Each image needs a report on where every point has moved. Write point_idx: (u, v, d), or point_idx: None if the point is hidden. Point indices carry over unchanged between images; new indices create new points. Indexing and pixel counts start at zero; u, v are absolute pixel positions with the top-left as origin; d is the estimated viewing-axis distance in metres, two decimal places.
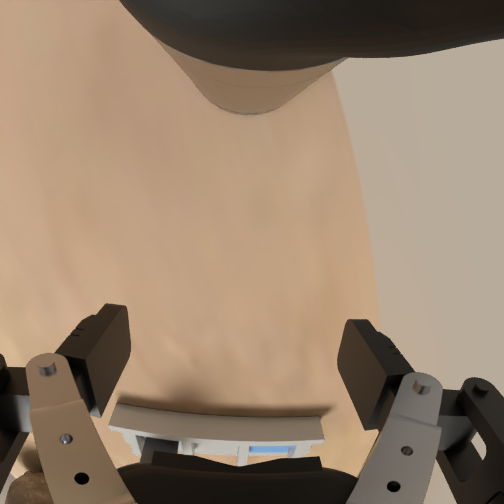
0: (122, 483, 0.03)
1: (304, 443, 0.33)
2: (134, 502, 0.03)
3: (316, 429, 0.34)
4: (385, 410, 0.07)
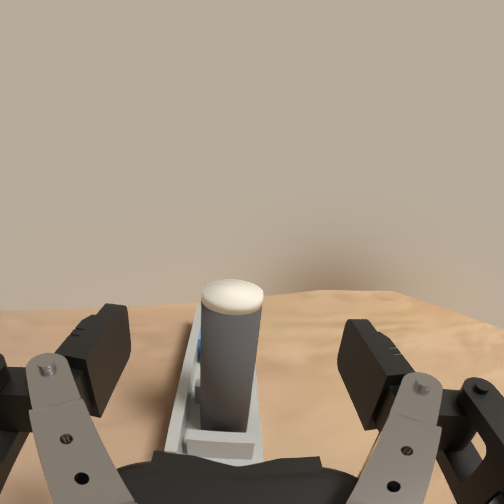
0: (122, 483, 0.03)
1: (200, 312, 0.42)
2: (134, 502, 0.03)
3: None
4: (385, 410, 0.07)
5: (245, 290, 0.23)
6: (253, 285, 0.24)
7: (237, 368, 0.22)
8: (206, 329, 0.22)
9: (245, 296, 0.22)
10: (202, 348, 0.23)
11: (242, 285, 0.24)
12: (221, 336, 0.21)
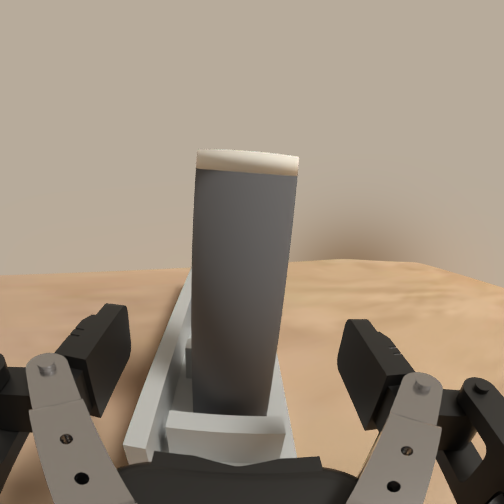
0: (122, 483, 0.03)
1: None
2: (134, 502, 0.03)
3: None
4: (385, 410, 0.07)
5: None
6: None
7: (257, 288, 0.13)
8: (203, 211, 0.13)
9: None
10: (195, 256, 0.14)
11: None
12: (228, 217, 0.12)
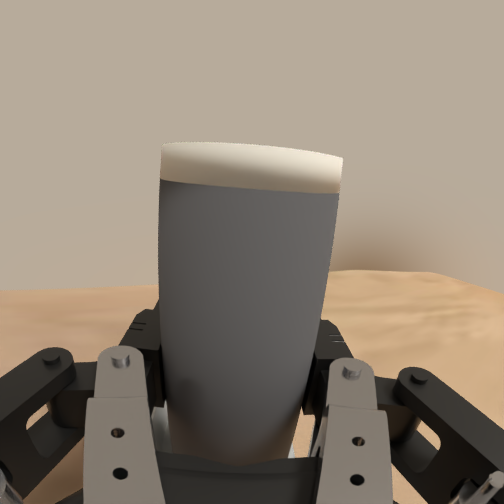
0: (160, 487, 0.04)
1: None
2: None
3: None
4: (318, 394, 0.08)
5: None
6: None
7: (267, 389, 0.07)
8: (170, 259, 0.07)
9: None
10: (162, 329, 0.08)
11: None
12: (215, 277, 0.06)
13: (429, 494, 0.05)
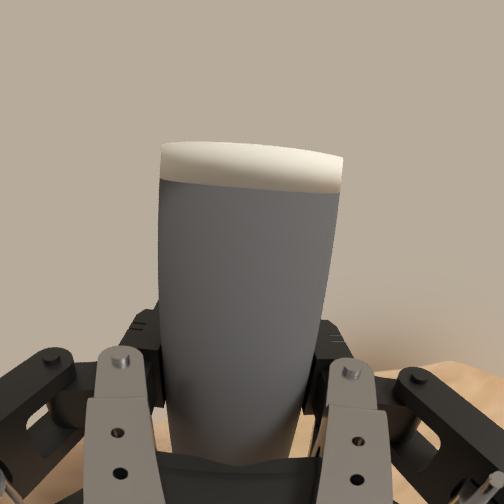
0: (160, 487, 0.04)
1: None
2: None
3: None
4: (318, 394, 0.08)
5: None
6: None
7: (267, 389, 0.07)
8: (169, 259, 0.07)
9: None
10: (162, 329, 0.08)
11: None
12: (215, 277, 0.06)
13: (429, 494, 0.05)
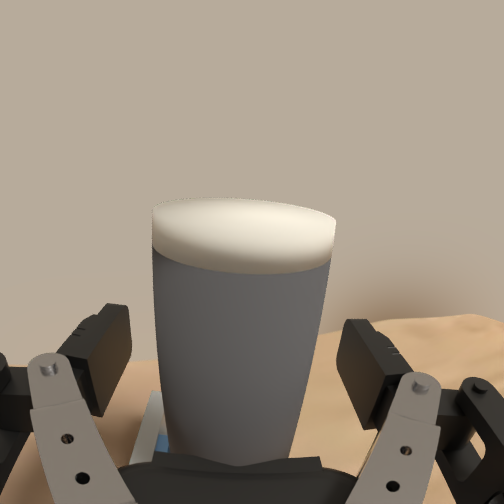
0: (123, 483, 0.03)
1: (154, 420, 0.14)
2: (135, 502, 0.03)
3: None
4: (384, 410, 0.07)
5: (281, 211, 0.08)
6: (298, 207, 0.09)
7: (259, 435, 0.07)
8: (165, 326, 0.07)
9: (286, 219, 0.07)
10: (161, 379, 0.08)
11: (270, 205, 0.09)
12: (209, 349, 0.06)
13: None
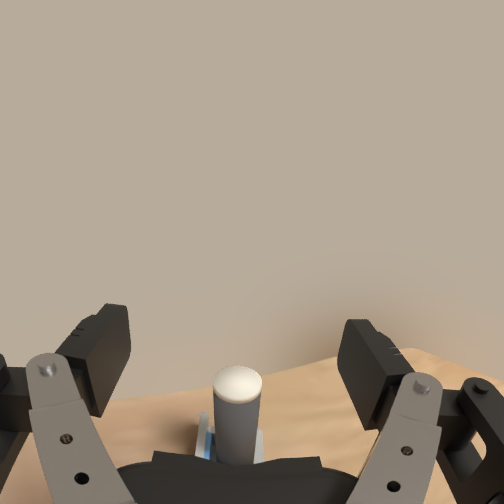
0: (122, 483, 0.03)
1: (204, 426, 0.34)
2: (134, 502, 0.03)
3: None
4: (385, 410, 0.07)
5: (247, 379, 0.27)
6: (254, 372, 0.28)
7: (243, 433, 0.27)
8: (218, 409, 0.27)
9: (247, 387, 0.26)
10: (216, 418, 0.28)
11: (245, 373, 0.28)
12: (229, 415, 0.26)
13: None
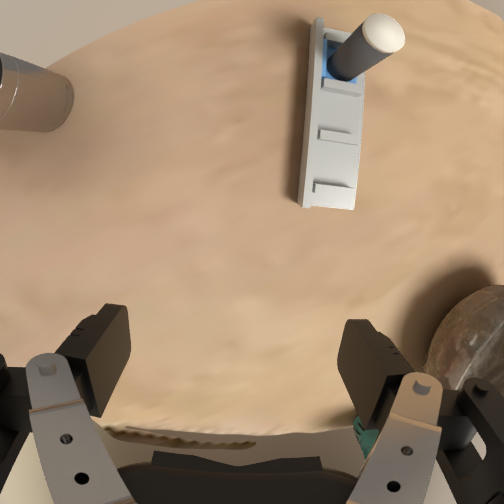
0: (122, 483, 0.03)
1: (320, 32, 0.33)
2: (134, 502, 0.03)
3: (313, 26, 0.34)
4: (385, 410, 0.07)
5: (393, 32, 0.23)
6: (399, 26, 0.23)
7: (371, 64, 0.29)
8: (361, 47, 0.26)
9: (393, 41, 0.23)
10: (352, 48, 0.27)
11: (392, 24, 0.23)
12: (370, 55, 0.26)
13: None
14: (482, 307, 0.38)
